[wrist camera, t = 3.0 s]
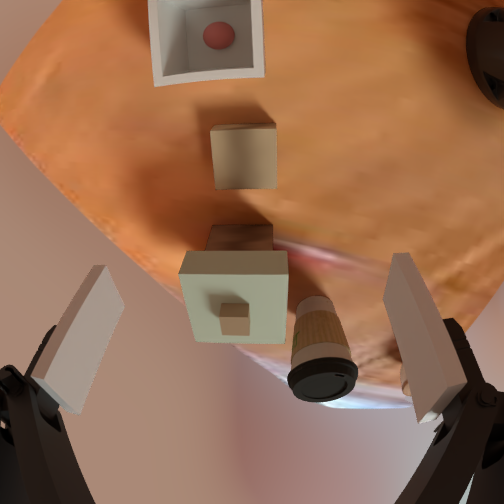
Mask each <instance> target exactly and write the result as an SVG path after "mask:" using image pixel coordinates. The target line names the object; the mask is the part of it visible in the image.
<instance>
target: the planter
mask: <svg viewBox="0 0 504 504" xmlns="http://www.w3.org/2000/svg"><path fill="white" fill-rule="evenodd" d="M148 15H149V32H150V45H151V57H152V68H153V78H154V87H158V86H164V85H171V84H179V83H187V82H196V81H206V80H218V79H233V78H256V77H265V45H264V21H263V0H148ZM214 22H225V23H227V24H229V25H230V26H231V27H232V28H233V30H234V33H235V37H234V40H233V42H232V44H231V45H230V46H228V47H227V48H224V49H220V50H216V49H212V48H210V47H208V46H207V45H206V44H205V42H204V40H203V32H204V30H205V28H206V27H207V26H208V25H210V24H211V23H214Z"/></svg>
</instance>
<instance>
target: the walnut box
mask: <svg viewBox="0 0 504 504" xmlns="http://www.w3.org/2000/svg"><path fill="white" fill-rule="evenodd" d="M205 251H273V225H212V229H211V232H210V235H209V239H208V242H207V245H206V249H205Z"/></svg>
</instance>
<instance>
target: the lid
mask: <svg viewBox="0 0 504 504" xmlns="http://www.w3.org/2000/svg"><path fill="white" fill-rule="evenodd" d="M178 275H179V279H180V283H181V287H182V291H183V295H184V299H185V303H186V307H187V311H188V315H189V318H190V322H191V326H192V329H193V333H194V337H195V340H196V342H215V343H217V342H218V343H247V344H285V333H286V317H287V298H288V278H289V272H288V257H287V251H187V252H186V254H185V257H184V260H183V263H182V265H181V268H180V271H179V274H178Z"/></svg>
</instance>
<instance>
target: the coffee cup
mask: <svg viewBox="0 0 504 504" xmlns="http://www.w3.org/2000/svg"><path fill="white" fill-rule="evenodd" d="M291 365H292V366H291V371H290V373H289V374H288V377H287V381H288V385H289V387H290V388H291V389H292V391H293V394H294V395H295V396H296V397H297V398H298V399H301V400H303V401H308V402H327V401H332V400H336V399H338V398H341V397H343V396H345V395H347V394H348V393H350V392H351V391H352V390H353V388H354V386H355V382H356V380H357V377H358V367H357V365H356V364H355V363H354V362H353V361H352V358H351V351H350V348H349V345H348V342H347V339H346V336H345V334H344V331H343V328H342V325H341V322H340V320H339V317H338V316H337V314H336V311H335V308H334V305H333V303H332V301H331V300H330V299H328V298H326V297H323V296H311V297H308V298H306V299H304V300H302V301H301V302H300V303H299V304H298V306H297V310H296V322H295V325H294V335H293V345H292V355H291Z"/></svg>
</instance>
